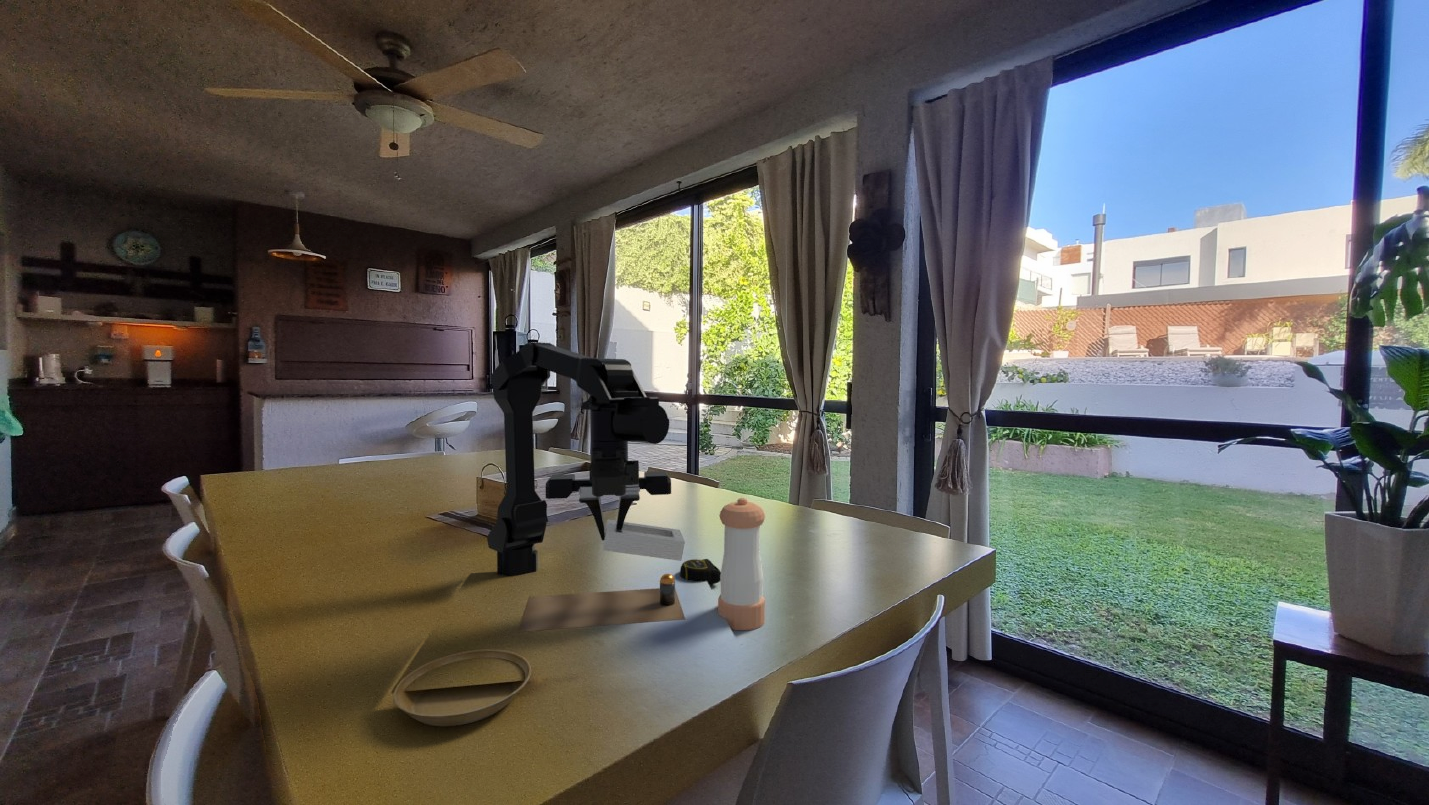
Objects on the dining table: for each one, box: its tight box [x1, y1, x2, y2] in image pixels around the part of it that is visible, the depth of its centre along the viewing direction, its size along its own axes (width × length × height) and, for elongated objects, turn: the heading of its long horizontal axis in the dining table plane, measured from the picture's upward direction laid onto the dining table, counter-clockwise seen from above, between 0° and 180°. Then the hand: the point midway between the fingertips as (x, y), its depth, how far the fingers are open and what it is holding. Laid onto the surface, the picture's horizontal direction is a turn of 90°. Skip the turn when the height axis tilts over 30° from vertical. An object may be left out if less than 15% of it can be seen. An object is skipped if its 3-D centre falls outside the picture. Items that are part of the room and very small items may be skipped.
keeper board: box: [517, 587, 686, 633], centre depth 90 cm, size 24×13×2 cm, turn 101°
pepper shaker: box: [717, 497, 766, 631], centre depth 89 cm, size 7×7×19 cm
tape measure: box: [679, 558, 721, 586], centre depth 105 cm, size 7×7×4 cm
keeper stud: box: [659, 573, 676, 606], centre depth 92 cm, size 2×2×5 cm
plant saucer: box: [393, 649, 532, 727], centre depth 67 cm, size 15×15×3 cm
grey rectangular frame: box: [602, 519, 686, 562], centre depth 90 cm, size 12×7×3 cm, turn 100°
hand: (610, 539), depth 89 cm, fingers closed on grey rectangular frame, 2 cm apart
